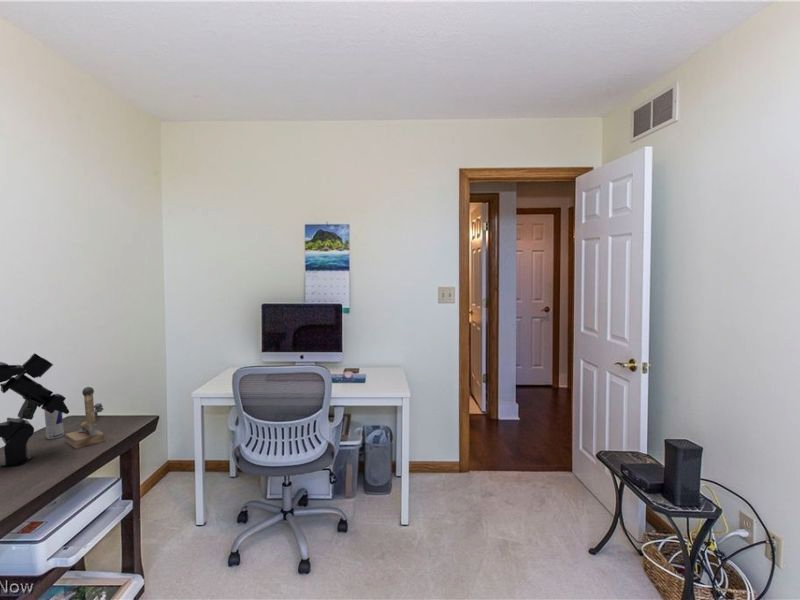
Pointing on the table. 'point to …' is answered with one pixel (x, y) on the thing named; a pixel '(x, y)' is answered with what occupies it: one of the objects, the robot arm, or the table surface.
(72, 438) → the press bench
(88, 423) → the lever
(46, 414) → the energy drink
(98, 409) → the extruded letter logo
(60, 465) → the table surface
